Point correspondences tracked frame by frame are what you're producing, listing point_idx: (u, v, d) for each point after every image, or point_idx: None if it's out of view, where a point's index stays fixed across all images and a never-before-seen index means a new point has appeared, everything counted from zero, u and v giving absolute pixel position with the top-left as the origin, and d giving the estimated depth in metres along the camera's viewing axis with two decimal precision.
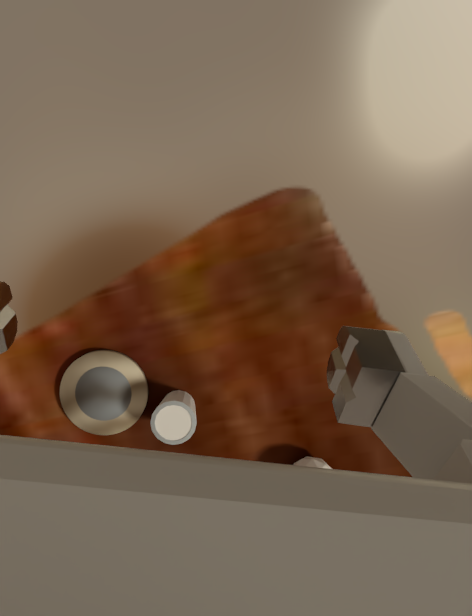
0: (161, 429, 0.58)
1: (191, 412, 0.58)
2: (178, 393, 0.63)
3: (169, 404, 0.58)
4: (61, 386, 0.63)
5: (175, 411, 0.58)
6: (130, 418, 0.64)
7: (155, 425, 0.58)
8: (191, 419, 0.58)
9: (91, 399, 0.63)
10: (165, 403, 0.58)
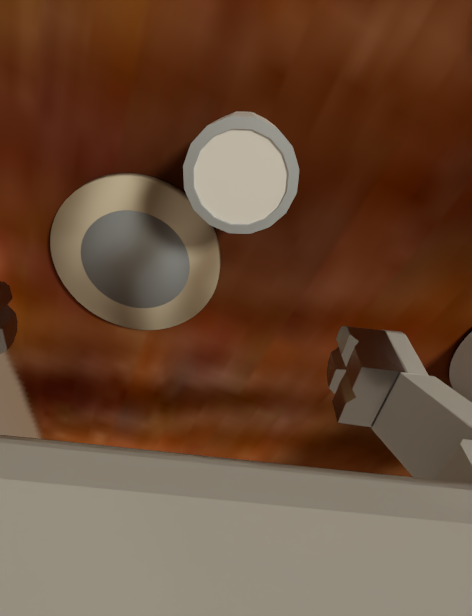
0: (238, 213, 0.24)
1: (243, 121, 0.21)
2: None
3: (193, 159, 0.22)
4: (92, 310, 0.35)
5: (218, 157, 0.22)
6: (205, 251, 0.32)
7: (221, 219, 0.24)
8: (260, 133, 0.21)
9: (136, 284, 0.34)
10: (186, 167, 0.23)
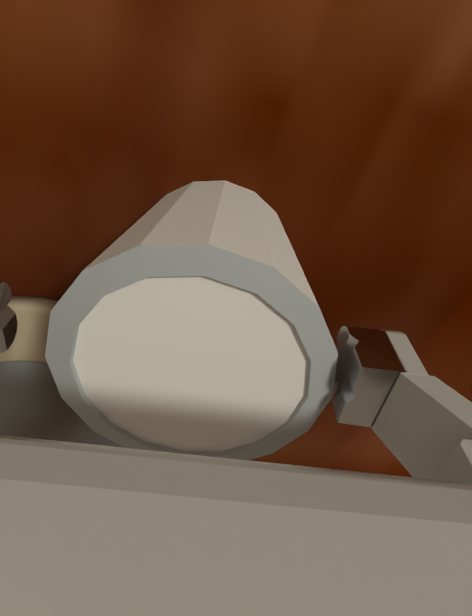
0: (196, 435, 0.10)
1: (178, 257, 0.07)
2: None
3: (64, 346, 0.09)
4: None
5: (127, 337, 0.09)
6: None
7: (160, 445, 0.11)
8: (227, 283, 0.08)
9: None
10: (52, 359, 0.09)
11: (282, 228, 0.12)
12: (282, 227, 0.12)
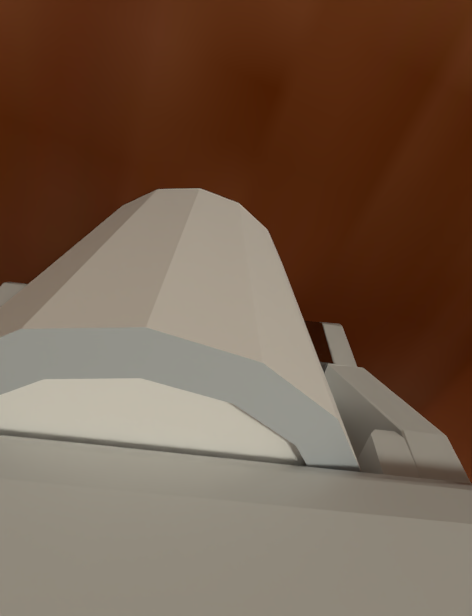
0: None
1: (93, 349, 0.04)
2: None
3: None
4: None
5: None
6: None
7: None
8: (183, 387, 0.05)
9: None
10: None
11: (275, 256, 0.09)
12: (275, 254, 0.09)
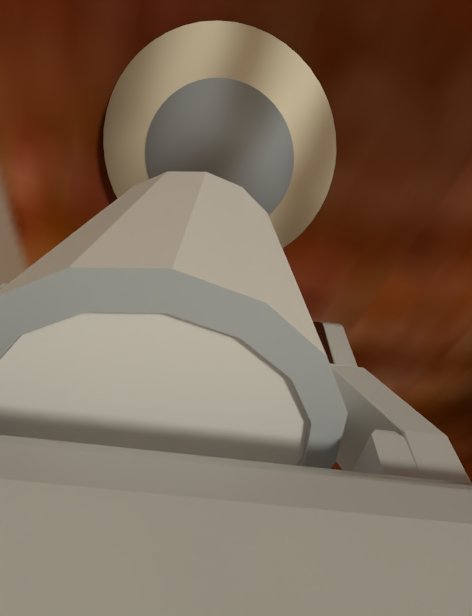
0: None
1: (127, 286, 0.05)
2: None
3: None
4: None
5: (60, 387, 0.06)
6: (318, 138, 0.23)
7: None
8: (199, 323, 0.05)
9: None
10: None
11: (275, 234, 0.10)
12: (274, 232, 0.10)
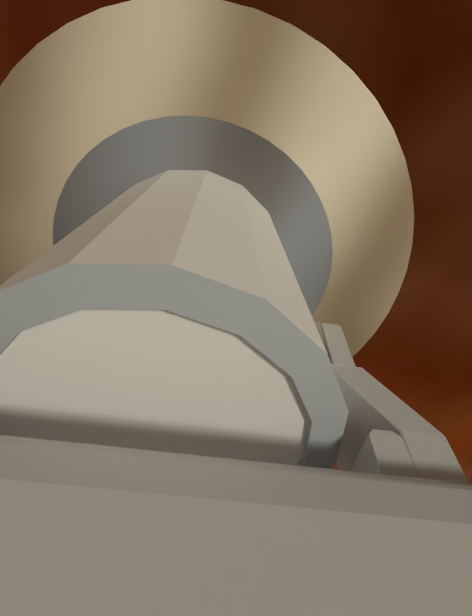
0: None
1: (126, 283, 0.05)
2: None
3: None
4: None
5: (59, 384, 0.06)
6: (379, 225, 0.12)
7: None
8: (199, 320, 0.05)
9: None
10: None
11: (275, 233, 0.10)
12: (275, 231, 0.10)
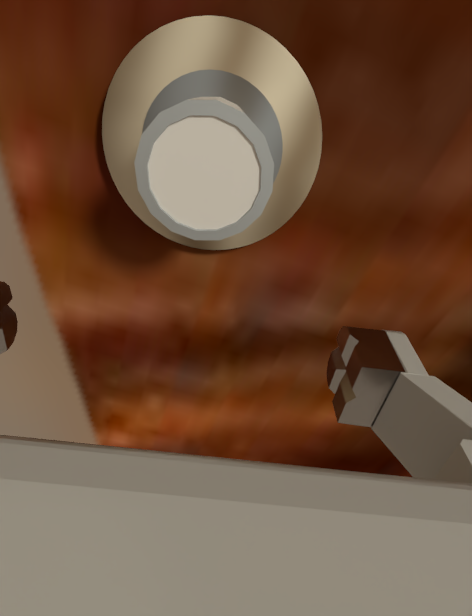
0: (204, 217, 0.20)
1: (203, 106, 0.17)
2: None
3: (145, 154, 0.18)
4: (153, 226, 0.28)
5: (175, 151, 0.18)
6: (304, 127, 0.24)
7: (185, 224, 0.20)
8: (224, 120, 0.18)
9: None
10: (138, 163, 0.19)
11: None
12: None
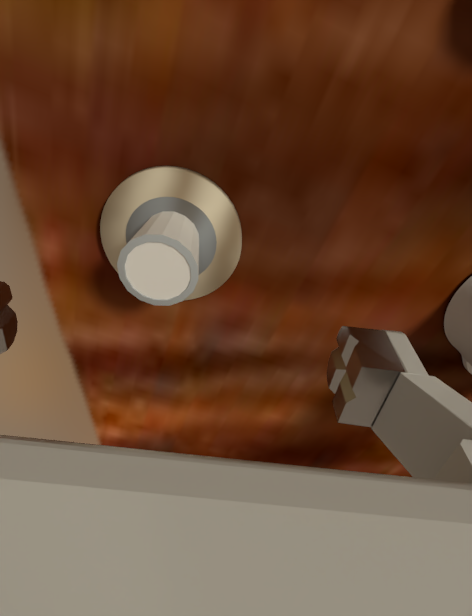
0: (159, 292, 0.34)
1: (154, 237, 0.31)
2: None
3: (123, 260, 0.32)
4: None
5: (140, 258, 0.32)
6: (229, 228, 0.38)
7: (148, 296, 0.34)
8: (167, 244, 0.31)
9: None
10: (119, 265, 0.32)
11: (192, 230, 0.36)
12: (192, 229, 0.36)
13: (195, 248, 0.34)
